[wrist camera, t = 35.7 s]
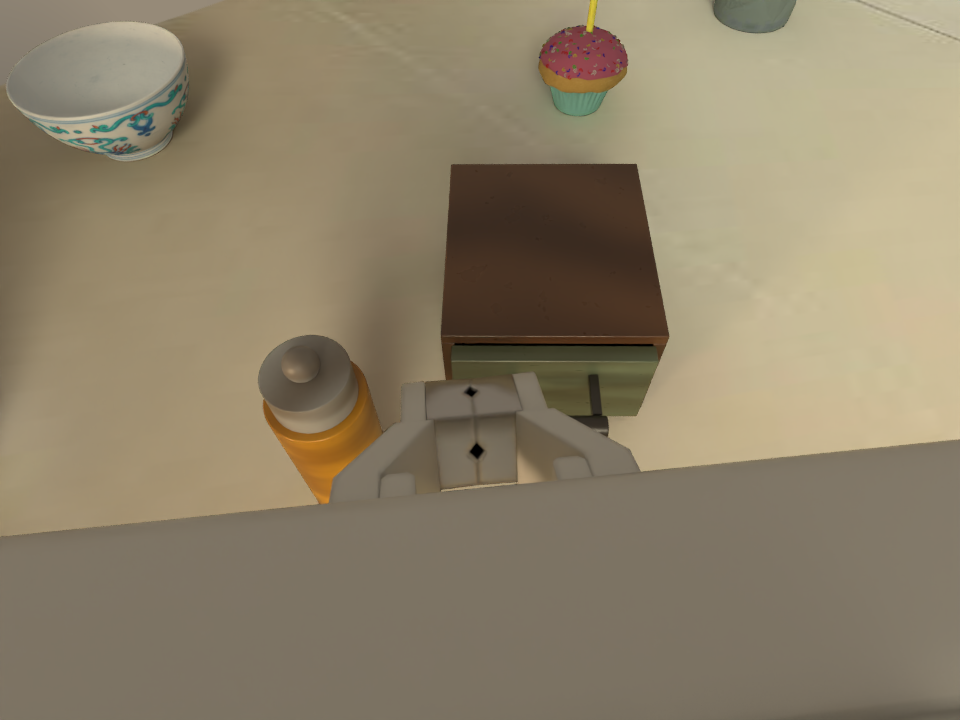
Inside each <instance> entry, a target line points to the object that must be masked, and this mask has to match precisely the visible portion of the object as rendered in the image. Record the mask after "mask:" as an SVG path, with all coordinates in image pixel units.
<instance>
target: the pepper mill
mask: <svg viewBox="0 0 960 720" xmlns="http://www.w3.org/2000/svg"><path fill="white" fill-rule="evenodd" d="M258 385H259V390H260V392H261V394H262V396H263V398H264V400H263V410H264V415H265V418H266V420H267V422H268V424H269V426H270V427H271V429H272V430H273V432H274V433H275V435H276V437H277V438H278V440H279V441H280V443H281V444H282V446H283V447H284V449H285V451H286V452H287V454H288V455H289V457H290V458H291V460H292V462H293V463H294V465H295V466H296V468H297V469H298V471H299V472H300V474H301V476H302V477H303V479H304V480H305V482H306V483H307V485H308V486H309V488H310V490H311V491H312V493H313V494H314V496H315V497H316V499H317V500H318V502H319V504H327V503H329V498H330V492H331V486H332V481H333V478H334V477H335V476H336V475H337V474H338V473H339V472H341V471H342V470H343V469H344V468H345V467H346V466H347V465H348V464H349V463H351V462H352V461H353V460H354V459H355V458H356V457H357V456H358V455H359V454H361V453H362V452H363V451H364V450H365V449H366V448H367V447H368V446H369V445H371V444H372V443H373V442H374V441H375V440H376V439H377V438H378V437H379V436H381V435H382V434H383V431H382V428H381V425H380V422H379V419H378V416H377V413H376V410H375V406H374V403H373V400H372V397H371V394H370V391H369V388H368V385H367V381H366V379H365V376H364V374H363V373H362V371H361V370H360V368H359V367H358V366H357V365H356V364H354V363H353V362H352V361H350V359H349V356H348V354H347V352H346V351H345V349H344V348H343V347H342V346H341V345H340V344H339V343H337V342H336V341H334V340H332V339H330V338H327V337H324V336H318V335H305V336H300V337H296V338H293V339H290V340H288V341H286V342H284V343H282V344H280V345H279V346H277V347H276V348H275V349H274V350H273V351H272V352H271V353H270V354H269V355H268V356H267V357H266V359H265V360H264V362H263V364H262V366H261V368H260V371H259V376H258Z"/></svg>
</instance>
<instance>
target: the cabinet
mask: <svg viewBox="0 0 960 720" xmlns="http://www.w3.org/2000/svg"><path fill="white" fill-rule="evenodd" d="M668 339H669V332H668V327H667V321H666V316H665V311H664V305H663V300H662V295H661V290H660V284H659V279H658V274H657V269H656V263H655V258H654V253H653V247H652V242H651V237H650V232H649V226H648V221H647V216H646V211H645V205H644V200H643V195H642V189H641V184H640V179H639V174H638V168H637V164H452V165H451V177H450V193H449V210H448V226H447V242H446V259H445V275H444V292H443V308H442V324H441V342H442V351H443V360H444V368H445V377H446V380H453V378H452V368H451V347H452V346H453V345H465V343H540V344H636V346H656V349H657V354H658V360H659V361H660V359H661V356H662V354H663V351H664V349H665V346H666V343H667V341H668ZM658 363H659V362H658ZM657 366H658V365H657ZM656 368H657V367H656ZM655 371H656V370H655ZM654 373H655V372H654ZM653 376H654V375H653ZM652 378H653V377H652ZM650 383H651V382H650ZM649 385H650V384H649ZM648 388H649V387H648ZM647 390H648V389H647ZM646 393H647V392H646ZM645 395H646V394H645ZM644 398H645V397H644ZM643 400H644V399H643ZM642 403H643V402H642ZM641 405H642V404H641ZM640 407H641V406H640Z"/></svg>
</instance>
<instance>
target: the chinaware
mask: <svg viewBox="0 0 960 720" xmlns="http://www.w3.org/2000/svg"><path fill="white" fill-rule="evenodd" d="M188 90H189V75H188V66H187V60H186V56H185V51H184V48H183V45H182V43H181V42H180V40H179V39H178V38H177V36H175V35H174V34H173V33H172V32H170V31H169V30H167V29H165V28H163V27H160V26H157V25H154V24H149V23H143V22H134V21H115V22H105V23H99V24H93V25H88V26H84V27H81V28H77V29H74V30H71V31H68V32H65V33H62V34H60V35H57V36H55V37H53V38H51V39H49V40H47V41H45V42H43V43H41V44H40V45H38V46H36V47H35V48H33V49H32V50H31V51H29V52H28V53H27V54H26V55H24V56H23V57H22V58H21V59H20V60H19V61H18V62H17V63H16V65H15V66H14V67H13V69H12V70H11V72H10V73H9V76H8V78H7V82H6V92H7V95H8V97H9V99H10V101H11V102H12V103H13V105H14V106H15V107H16V108H17V109H18V110H19V111H20V112H21V113H22V114H23V115H24V116H25V117H27V118H28V119H29V120H30V121H31V122H32V123H34V124H35V125H36V126H37V127H39V128H40V129H41V130H43V131H44V132H46V133H47V134H49V135H50V136H52V137H53V138H55V139H57V140H59V141H61V142H63V143H65V144H67V145H69V146H72V147H74V148H77V149H80V150H83V151H87V152H91V153H96V154H104V155H107V156H108V157H109V158H111V159H114V160H118V161H136V160H141V159H144V158H147V157H150V156H152V155H154V154H156V153H158V152H159V151H161V150H162V149H163V148H164V147H166V145H167V144H168V143H169V142H170V140H171V138H172V130H173V129H174V127H175V126H176V125H177V123H178V122H179V120H180V118H181V116H182V114H183V112H184V109H185V106H186V102H187V98H188Z"/></svg>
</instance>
